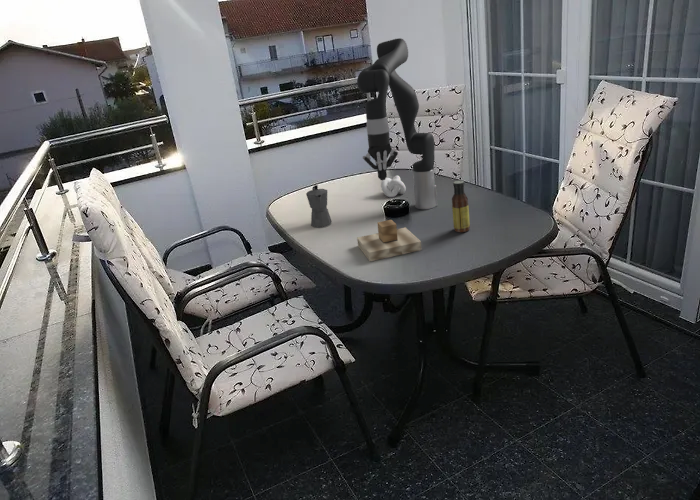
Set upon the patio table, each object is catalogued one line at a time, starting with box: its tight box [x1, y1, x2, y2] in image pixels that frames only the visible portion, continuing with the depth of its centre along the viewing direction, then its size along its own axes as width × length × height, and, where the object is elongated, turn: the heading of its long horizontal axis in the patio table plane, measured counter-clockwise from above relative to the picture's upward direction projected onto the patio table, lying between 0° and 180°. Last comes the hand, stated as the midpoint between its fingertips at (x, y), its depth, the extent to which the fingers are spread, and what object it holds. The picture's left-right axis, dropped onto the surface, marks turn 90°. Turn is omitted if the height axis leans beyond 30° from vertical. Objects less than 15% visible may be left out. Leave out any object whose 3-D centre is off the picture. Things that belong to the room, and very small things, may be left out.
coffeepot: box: [305, 184, 333, 229], centre depth 219 cm, size 15×9×18 cm, turn 13°
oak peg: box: [376, 219, 398, 243], centre depth 187 cm, size 6×6×10 cm
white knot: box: [380, 175, 407, 198], centre depth 246 cm, size 11×12×9 cm
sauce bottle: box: [451, 180, 471, 233], centre depth 193 cm, size 7×6×20 cm
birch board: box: [356, 226, 422, 262], centre depth 189 cm, size 20×16×4 cm
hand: (382, 179), depth 179 cm, fingers closed
